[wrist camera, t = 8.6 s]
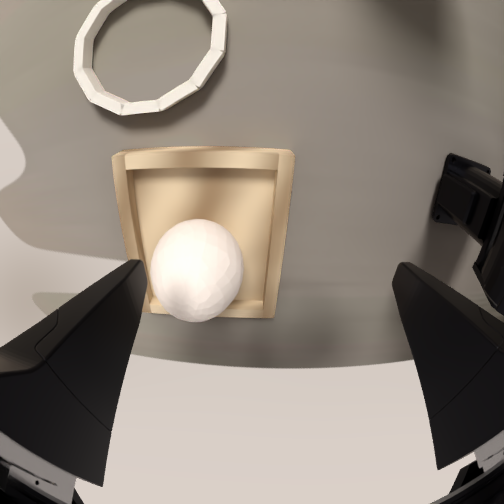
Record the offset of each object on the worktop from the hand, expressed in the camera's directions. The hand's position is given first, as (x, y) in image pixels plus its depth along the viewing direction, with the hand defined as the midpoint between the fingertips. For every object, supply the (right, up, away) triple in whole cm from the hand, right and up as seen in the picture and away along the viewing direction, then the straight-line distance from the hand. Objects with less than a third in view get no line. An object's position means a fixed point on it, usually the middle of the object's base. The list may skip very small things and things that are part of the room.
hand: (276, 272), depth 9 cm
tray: (-5, +2, +12) cm, 13 cm away
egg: (-4, +2, +12) cm, 13 cm away
